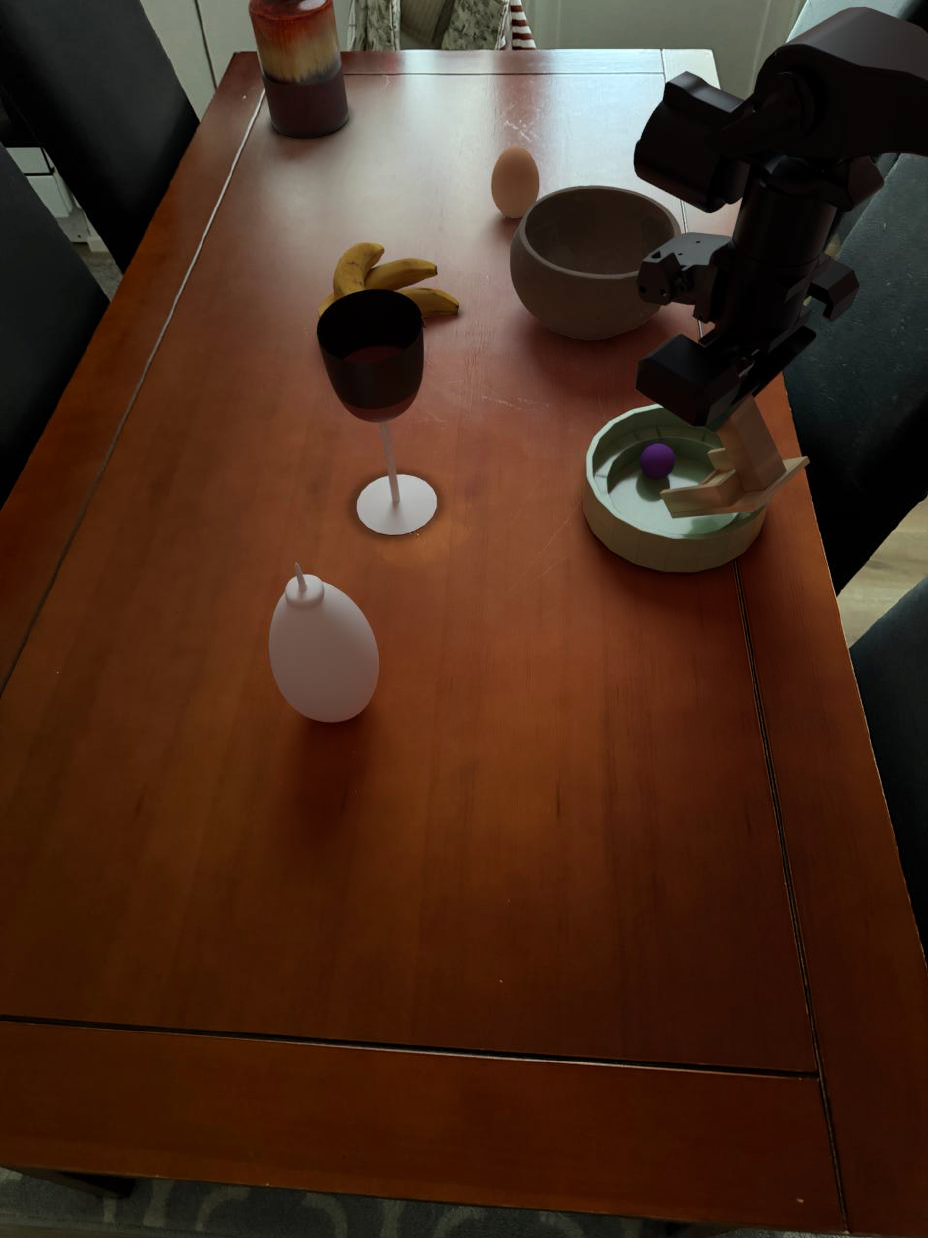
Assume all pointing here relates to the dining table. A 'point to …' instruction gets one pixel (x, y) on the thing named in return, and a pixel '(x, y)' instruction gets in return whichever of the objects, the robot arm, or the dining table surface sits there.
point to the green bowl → (633, 505)
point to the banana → (388, 279)
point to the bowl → (588, 259)
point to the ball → (657, 461)
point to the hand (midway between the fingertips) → (723, 418)
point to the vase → (300, 65)
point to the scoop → (737, 470)
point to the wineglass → (379, 392)
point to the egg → (515, 182)
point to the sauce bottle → (322, 651)
